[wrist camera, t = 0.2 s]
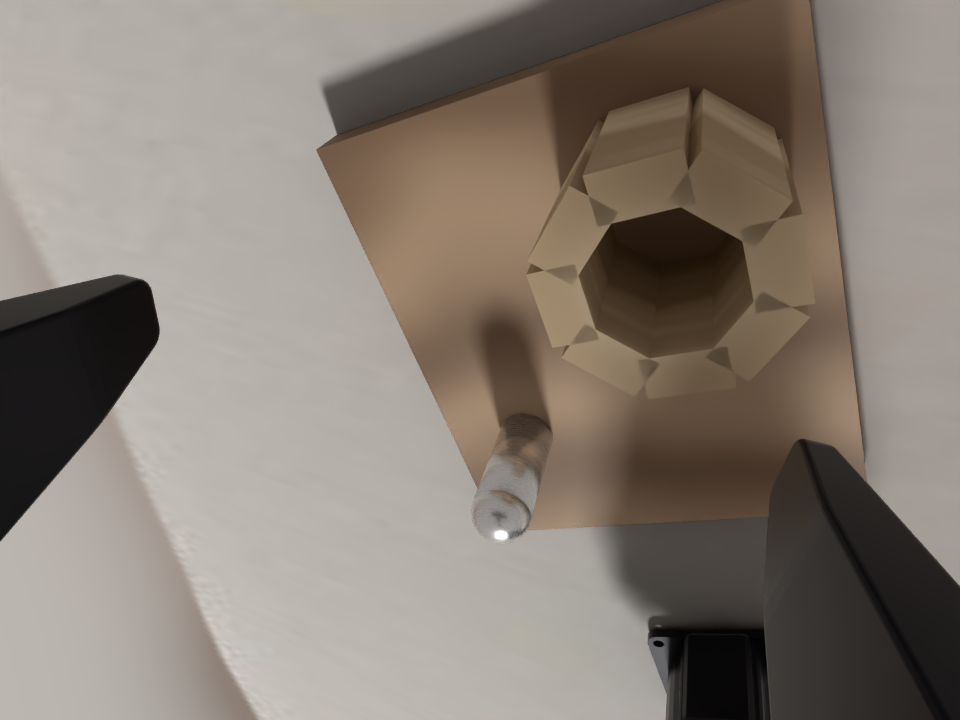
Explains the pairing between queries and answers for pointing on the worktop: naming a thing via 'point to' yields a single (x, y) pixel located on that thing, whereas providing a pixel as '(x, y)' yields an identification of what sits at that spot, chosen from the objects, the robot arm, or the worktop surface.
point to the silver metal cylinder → (512, 479)
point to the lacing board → (659, 237)
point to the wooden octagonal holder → (683, 285)
